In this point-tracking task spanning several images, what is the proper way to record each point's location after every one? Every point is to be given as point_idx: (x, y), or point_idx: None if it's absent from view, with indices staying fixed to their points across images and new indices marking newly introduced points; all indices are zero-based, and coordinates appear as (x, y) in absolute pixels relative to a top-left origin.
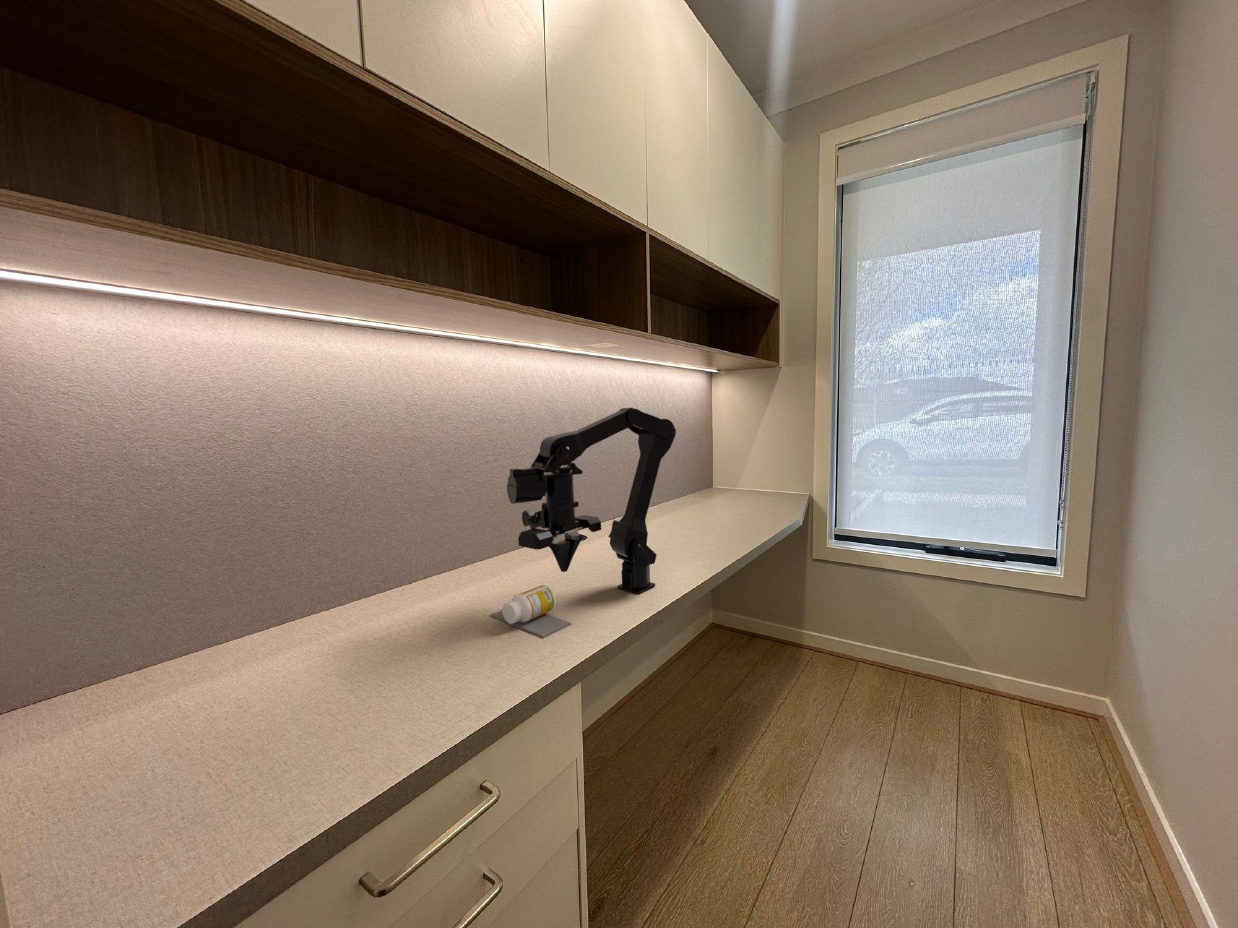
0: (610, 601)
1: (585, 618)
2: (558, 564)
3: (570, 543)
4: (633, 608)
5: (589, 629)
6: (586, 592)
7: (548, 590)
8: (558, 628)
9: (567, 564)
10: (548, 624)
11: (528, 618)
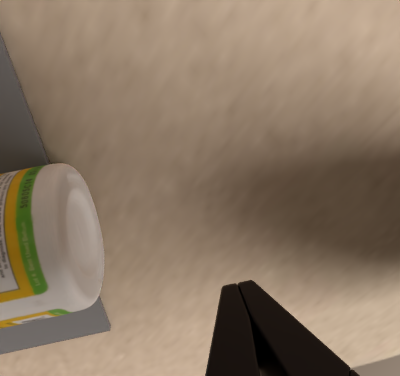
0: (335, 258)
1: (175, 315)
2: (214, 331)
3: None
4: (328, 333)
5: (135, 371)
6: (363, 120)
7: (58, 314)
8: (50, 341)
9: (260, 373)
10: None
11: None
